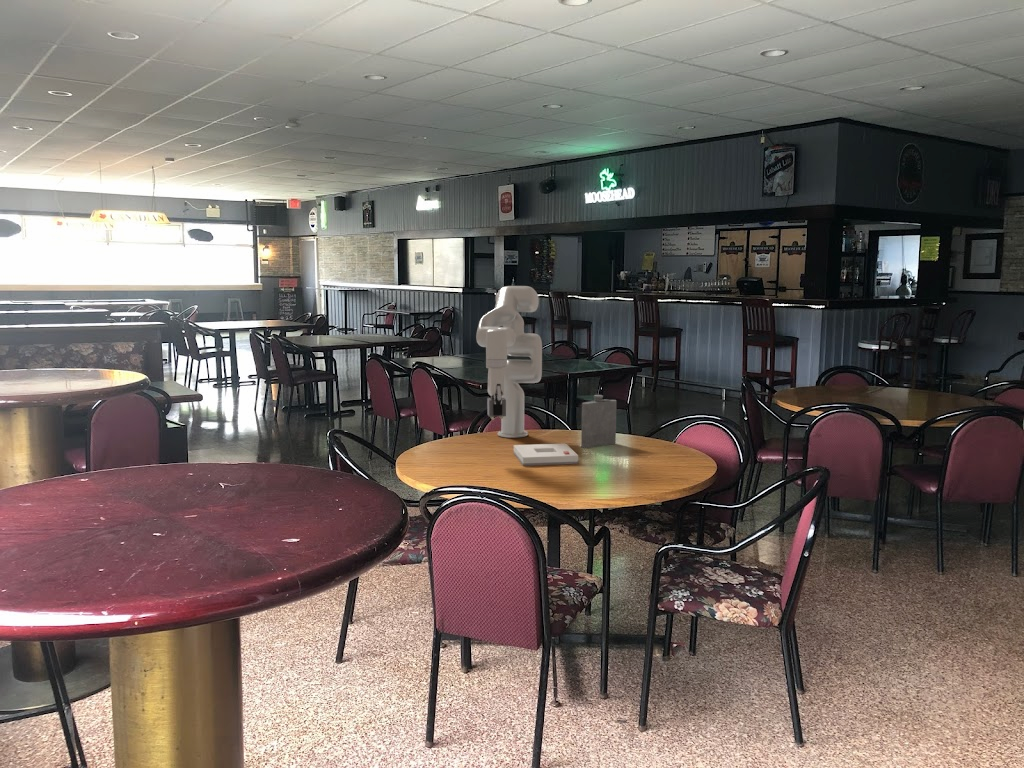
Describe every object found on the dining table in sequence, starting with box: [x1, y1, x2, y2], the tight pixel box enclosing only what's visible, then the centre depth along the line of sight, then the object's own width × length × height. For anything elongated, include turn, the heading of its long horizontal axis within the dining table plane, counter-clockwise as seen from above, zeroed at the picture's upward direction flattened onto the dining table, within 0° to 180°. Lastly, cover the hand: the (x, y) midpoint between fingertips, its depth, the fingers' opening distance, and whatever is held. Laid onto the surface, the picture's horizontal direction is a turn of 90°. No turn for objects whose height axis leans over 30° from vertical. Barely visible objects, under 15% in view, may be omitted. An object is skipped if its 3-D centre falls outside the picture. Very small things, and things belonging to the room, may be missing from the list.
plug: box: [486, 397, 506, 421], centre depth 288 cm, size 5×6×7 cm
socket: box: [513, 442, 579, 467], centre depth 294 cm, size 20×20×4 cm
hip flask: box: [580, 394, 617, 449], centre depth 314 cm, size 16×4×20 cm, turn 121°
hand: (496, 413), depth 289 cm, fingers closed on plug, 5 cm apart
